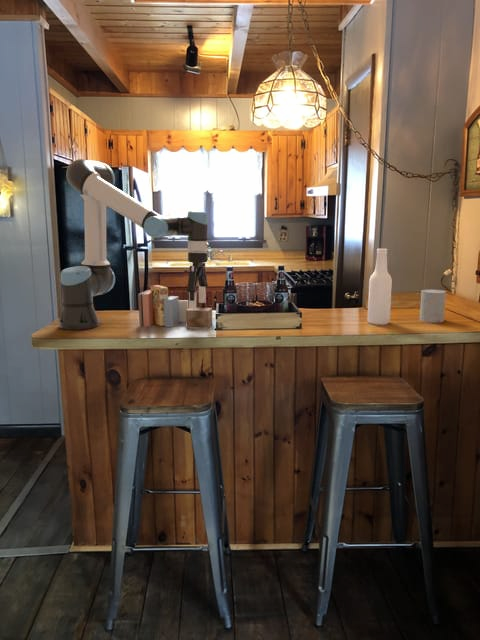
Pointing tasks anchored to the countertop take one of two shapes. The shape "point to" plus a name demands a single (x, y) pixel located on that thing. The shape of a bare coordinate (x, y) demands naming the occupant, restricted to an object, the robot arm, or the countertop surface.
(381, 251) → the alcohol
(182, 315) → the book rack
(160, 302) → the candy box
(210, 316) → the walnut block
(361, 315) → the countertop surface
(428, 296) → the grey cylinder
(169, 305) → the shelved books
